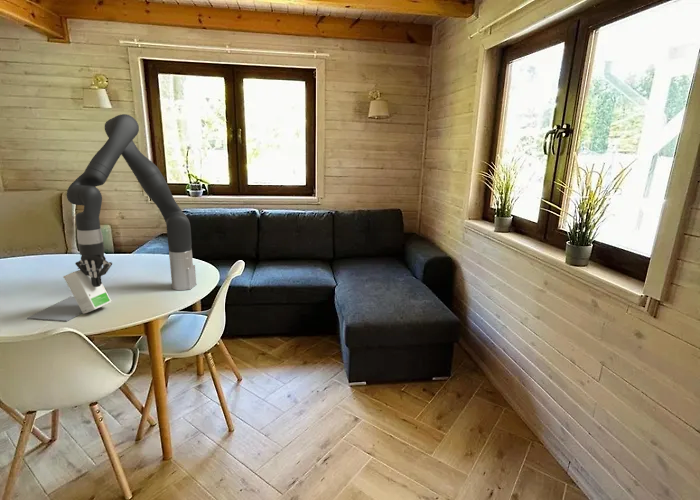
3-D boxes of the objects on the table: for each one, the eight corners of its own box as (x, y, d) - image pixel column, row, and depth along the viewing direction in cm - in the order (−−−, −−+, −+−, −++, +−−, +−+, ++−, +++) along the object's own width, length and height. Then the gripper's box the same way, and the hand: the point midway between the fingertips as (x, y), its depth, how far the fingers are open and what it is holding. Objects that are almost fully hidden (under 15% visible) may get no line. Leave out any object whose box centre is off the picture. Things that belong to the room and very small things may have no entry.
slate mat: (105, 299, 155) (105, 298, 155) (66, 321, 136) (66, 320, 136) (70, 297, 156) (70, 296, 156) (27, 318, 137) (26, 317, 137)
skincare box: (95, 310, 140) (74, 271, 138) (82, 314, 142) (61, 276, 139) (112, 301, 148) (93, 264, 146) (100, 305, 150) (81, 269, 147)
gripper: (115, 239, 141) (120, 283, 146) (80, 237, 142) (87, 281, 146) (101, 244, 134) (107, 290, 139) (65, 242, 135) (72, 288, 139)
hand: (97, 286), depth 142 cm, fingers closed
